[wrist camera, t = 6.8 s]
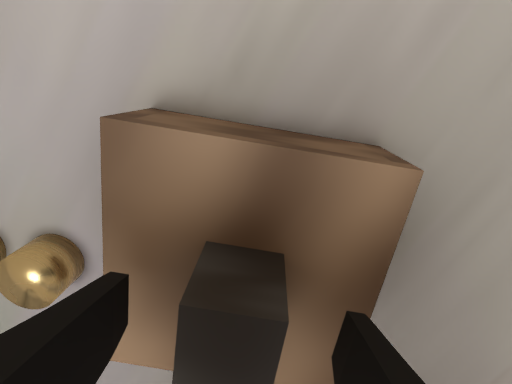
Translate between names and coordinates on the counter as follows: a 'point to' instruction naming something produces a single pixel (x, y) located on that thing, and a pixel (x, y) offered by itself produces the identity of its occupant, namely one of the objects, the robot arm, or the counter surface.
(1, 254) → the brass puck
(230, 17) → the counter surface
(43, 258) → the brass puck
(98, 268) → the counter surface
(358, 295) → the cover
